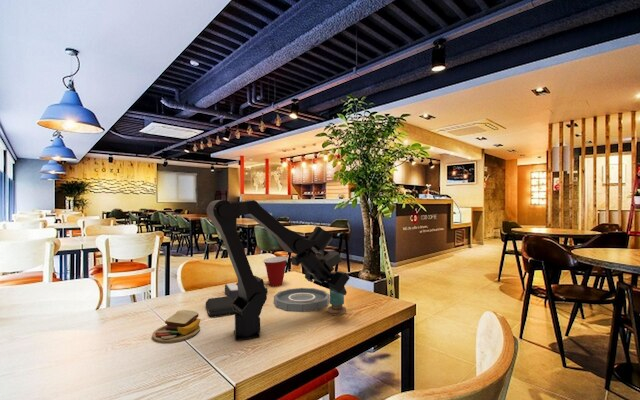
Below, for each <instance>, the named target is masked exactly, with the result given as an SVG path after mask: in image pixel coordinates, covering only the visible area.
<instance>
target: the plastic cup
mask: <svg viewBox="0 0 640 400" xmlns="http://www.w3.org/2000/svg"><path fill="white" fill-rule="evenodd" d="M287 260H288V257H287V256H273V257H268V258H264V259H263V260H262V262H263V263H264V266H265V269H266V275H267V279H268V285H269V286H270V287H281V286H283V282H284V277H285V269H286V264H287Z"/></svg>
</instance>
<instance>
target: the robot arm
mask: <svg viewBox="0 0 640 400" xmlns="http://www.w3.org/2000/svg"><path fill="white" fill-rule="evenodd" d="M246 215H247V216H249V217H250V218H251V219H253V221H255V222H256V223H258V225H259V226H261V227H263V228H264V229H265V230H266V231H267V232H268V233H269V234H271V236H273V237H274V239H276V241H277V243H278V244H279V246H280V247H281V248H282V249H283V251H285V252H287V253H291V254H295V255H294V256H291V264H290V265H293V266H295V267H298V266H300V265H301V266H302V267H303V268H304V269H305V274H304V278H305V279H306V281H308V282H310V283H313V284H314V285H318V286H320V287H322V288H325V289H327V290H329V291H330V290H332V291H334V292H337V293H340V294H343V295H344V296H347V293H348V292H347V290H346V287H345V286H346V284H347V282H348V281H349V280H350V275H349V273H347V272H346V271H345V272H344V271H341V270H337V271H335V268H334V267H335V266H337V265H338V264H339V263H340V264H341V262H342V261H343V260H342V258H341V254H340V253H339V252H338V251H336V250H335V251H334V250H329V251H328V250H326V248H327V247H328V245H329V244H330V242H331V241H333V236H332V234H331V233H330V232H328V231H326V230H325V229H323V228H322V227H321V226H315V227H314V229H313V231H312V232H311V233H310V235H309V236H308V238H307V237H304V236H303V235H301V234H300V233H298V232H296V231H294V230H291V229H290V228H287V227H286V226H285V225H284V224H282V223H281V222H280V221H279V220H277V218H275V217H274V216H273V215H272V214H271V213H269V212H268V211H267V210H266V209H264V207H262V206H261V205H260V204H259V203H258V201H257V200H255V199H245V200H242V201H241V200H240V201H232V202H231V201H228V200H225V199H218V200H217V199H216V200H213V201H211V202H209V204H208V205H207V208H206V216H207V217H208V218H209V220H210V221H211V223H212V225H213V227H215V229H216V230H217V232H218V233H219V234H220V236H221V239H222V242H223V244H224V246H225V249H226V252H227V253H228V254H227V255H228V258H229V260H230V263H231V265H232V267H233V271H234V273H235V275H236V278H237V283H238V292H239V295H238V297H237V298H236V299H235V300H234V301H233V303H232V304H231V305H232V308H233V310H234V311H236V312H235V314H234V330H233V335H234V340H235V341H242V340H249V339H254V338H255V339H256V338H260V333H261V317H260V315H261V313H262V309H263V307H264V305H265V303H266V301H267V297H268V293H269V291H268V289H267V290H266V289H265V286H266V285H265V282H264V279H263V278H261V277H260V276H259V277H258V276H256V275H254V272H253V270H252V267H251V264H250V263H249V260H248V256H247V254H246V251H245V250H244V246H243V242H242V241H241V238H240V235H239V233H238V229H237V222H238V220H237V219H238V218H237V217H240V216H246ZM319 252H320V257H319V255H318V254H319ZM317 253H318V254H317ZM334 271H335V272H336V273H335V274H333V273H331V272H334ZM264 285H265V286H264ZM266 293H267V295H266Z"/></svg>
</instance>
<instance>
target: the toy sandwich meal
mask: <svg viewBox="0 0 640 400" xmlns="http://www.w3.org/2000/svg"><path fill="white" fill-rule="evenodd" d="M199 316H200V315H199V312H197V311H194V310H186V309H182V310H177V311H176V312H175V313H174V314H172V315H171V316H169V317H168V318H167V319H165V320H164V324H166V325H162V326H161V327H158V328H157V329H155V330H154V331H153V332H152V338H153V339H154V340H156V341H157V340H158V342H160V341H162V342H161V343H175V342H180V341H185V340H187V339H190V338H193V337H194V336H195V335H197V333H198V332H199V331H200V329H201V326H200V323H201V318H199Z"/></svg>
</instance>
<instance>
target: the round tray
mask: <svg viewBox="0 0 640 400" xmlns="http://www.w3.org/2000/svg"><path fill="white" fill-rule="evenodd" d="M273 304H274V306H275V307H276V308H278V309H279V310H280V309H281V310H283V311H286V312H300V313H304V312H311V311H318V310H321V309H323V308H326V307H328V305H329V304H330V293H329V292H327V291H325V290H323V289H319V288H309V287H297V288H296V287H295V288H288V289H285V290H280V291H278V292H277V293H276V294H274V295H273Z"/></svg>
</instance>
